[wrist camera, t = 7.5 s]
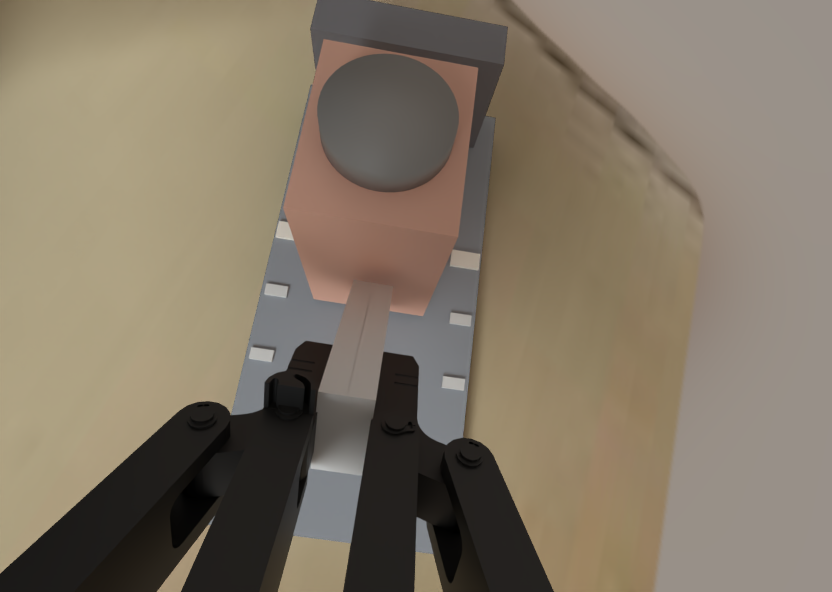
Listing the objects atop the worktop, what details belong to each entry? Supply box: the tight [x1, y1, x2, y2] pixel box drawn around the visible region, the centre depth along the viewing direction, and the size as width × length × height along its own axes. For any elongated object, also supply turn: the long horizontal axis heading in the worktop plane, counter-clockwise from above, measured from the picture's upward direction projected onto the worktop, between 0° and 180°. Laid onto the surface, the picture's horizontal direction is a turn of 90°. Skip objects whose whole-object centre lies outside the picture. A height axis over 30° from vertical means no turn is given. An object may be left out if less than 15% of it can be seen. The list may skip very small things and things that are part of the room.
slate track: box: [208, 0, 508, 554], centre depth 21 cm, size 22×10×8 cm, turn 172°
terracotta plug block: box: [283, 39, 478, 316], centre depth 19 cm, size 6×5×10 cm
